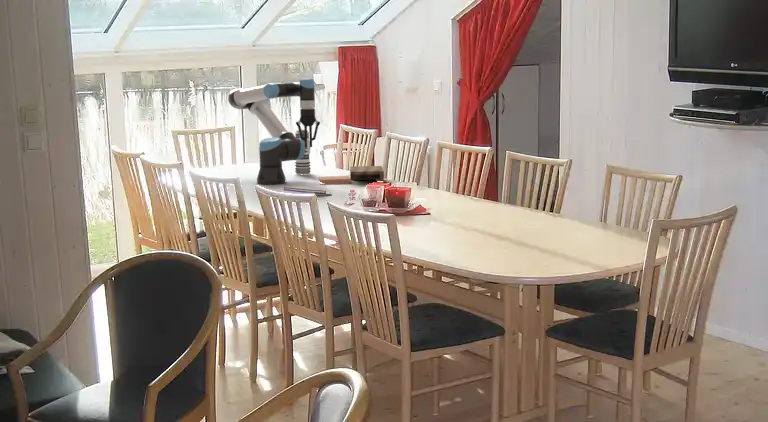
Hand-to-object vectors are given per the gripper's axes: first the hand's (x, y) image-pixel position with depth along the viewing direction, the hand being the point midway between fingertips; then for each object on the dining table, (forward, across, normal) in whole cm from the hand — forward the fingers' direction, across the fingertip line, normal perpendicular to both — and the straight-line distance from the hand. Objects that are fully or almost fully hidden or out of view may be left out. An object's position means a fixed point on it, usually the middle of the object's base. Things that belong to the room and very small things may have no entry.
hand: (308, 153), depth 501 cm
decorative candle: (+16, -4, +32) cm, 36 cm away
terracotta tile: (+16, +13, 0) cm, 21 cm away
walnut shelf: (+16, +30, 0) cm, 34 cm away
